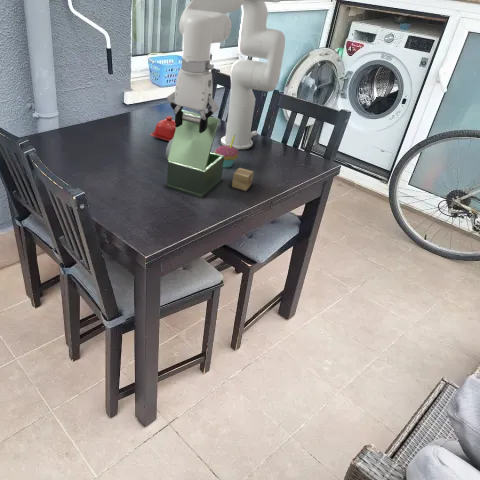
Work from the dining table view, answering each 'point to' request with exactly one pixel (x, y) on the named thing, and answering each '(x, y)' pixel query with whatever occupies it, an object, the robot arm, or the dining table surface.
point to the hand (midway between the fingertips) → (190, 128)
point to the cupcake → (228, 153)
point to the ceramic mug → (168, 148)
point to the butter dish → (165, 129)
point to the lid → (193, 141)
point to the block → (242, 179)
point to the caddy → (195, 176)
